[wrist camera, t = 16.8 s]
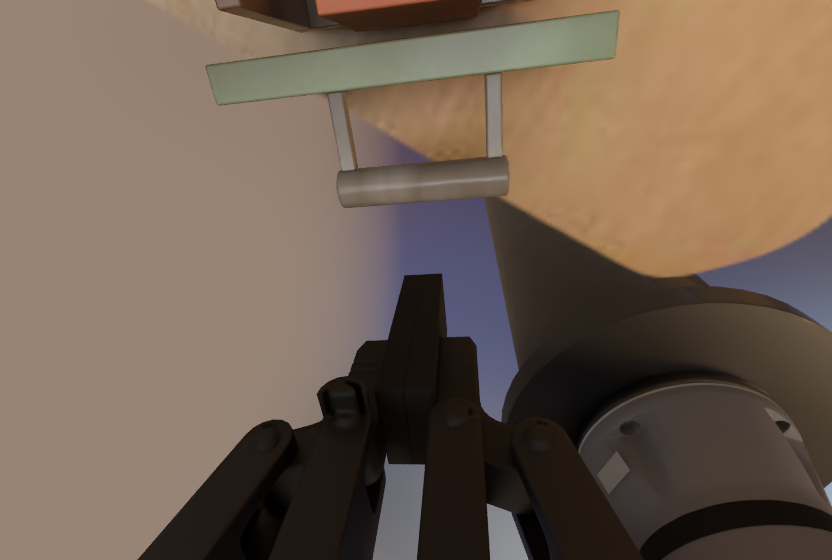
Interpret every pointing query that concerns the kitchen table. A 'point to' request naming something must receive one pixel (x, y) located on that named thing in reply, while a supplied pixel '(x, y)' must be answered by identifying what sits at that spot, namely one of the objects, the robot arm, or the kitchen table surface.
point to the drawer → (406, 63)
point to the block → (394, 12)
